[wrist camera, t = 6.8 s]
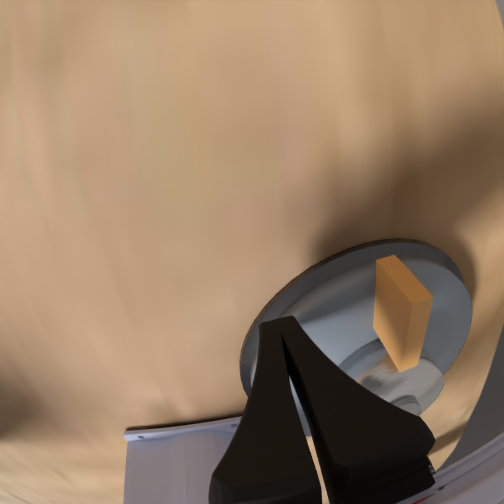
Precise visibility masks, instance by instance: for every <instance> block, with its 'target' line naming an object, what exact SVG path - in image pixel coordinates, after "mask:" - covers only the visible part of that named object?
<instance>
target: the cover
mask: <svg viewBox="0 0 504 504" xmlns="http://www.w3.org/2000/svg"><path fill="white" fill-rule="evenodd" d="M338 367H339V368H340V369H341V370H343V371H344V372H345V373H346V374H347V375H349V376H350V377H351V378H353V379H354V380H355V381H356V382H358V383H359V384H361V385H362V386H363V387H365V388H366V389H368V390H370V391H371V392H373V393H374V394H376V395H378V396H379V397H381V398H382V399H384V400H386V401H388V402H390V403H391V404H393V405H395V406H397V407H399V408H401V409H403V410H405V411H408V412H410V413H412V414H415V415H417V416H420V414H422V413H423V412H424V411H425V410H426V409H427V408H428V407H429V406H430V405H431V404H432V403H433V402H434V401H435V400H436V398H437V397H438V396H439V394H440V392H441V391H442V388H443V386H444V377H443V375H442V373H441V372H440V370H439V369H438V367H437V366H436V364H435V363H434V361H433V360H432V358H431V357H430V355H429V354H428V352H427V351H426V349H425V348H424V346H422V350H421V354H420V358H419V361H418V365H417V366H415V367H412V368H410V369H408V370H405V371H403V372H399V371H398V369H397V367H396V365H395V364H394V362H393V360H392V359H391V357H390V355H389V353H388V352H387V350H386V348H385V347H384V345H383V343H382V342H381V340H380V338H378V339H376V340H373V341H371V342H369V343H367V344H365V345H364V346H362V347H360V348H359V349H357V350H356V351H354V352H353V353H352V354H350V355H349V356H348V357H347V358H345V359H344V360H343V361H342V362H341V363H340V364H339V365H338Z"/></svg>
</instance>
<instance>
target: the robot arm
mask: <svg viewBox="0 0 504 504" xmlns="http://www.w3.org/2000/svg"><path fill="white" fill-rule="evenodd" d="M258 327H259V349H258V357H257V364H256V370H255V374H254V379H253V383H252V387H251V391H250V395H249V398H248V401H247V404H246V407H245V410H244V413H243V415H242V416H239V417H234V418H229V419H223V420H217V421H211V422H205V423H198V424H191V425H183V426H175V427H166V428H157V429H146V430H132V431H125V432H124V433H123V437H124V439H126V440H127V441H128V443H127V455H126V467H125V482H124V502H123V504H322V491H321V485H320V481H319V478H318V474H317V471H316V468H315V465H314V462H313V459H312V456H311V452H310V449H309V446H308V443H307V440H306V437H305V433H304V430H303V427H302V424H301V420H300V417H299V414H298V411H297V407H296V404H295V401H294V397H293V394H292V389H291V383H290V379H291V382H292V384H293V387H294V389H295V392H296V394H297V397H298V399H299V402H300V404H301V407H302V410H303V412H304V415H305V417H306V420H307V423H308V425H309V428H310V432H311V435H312V439H313V443H314V446H315V450H316V454H317V457H318V461H319V465H320V468H321V472H322V476H323V480H324V483H325V487H326V491H327V495H328V499H329V503H330V504H412V503H414V502H417V501H419V500H421V499H423V498H425V497H427V496H429V495H431V494H433V493H435V492H437V491H439V492H437V493H435V494H434V495H432V496H430V497H428V498H427V499H425V500H423V501H421V502H419V503H417V504H496V503H498V502H499V501H500V500H502V499H503V498H504V432H503V433H502V434H501V435H499V436H498V437H497V438H495V439H493V440H492V441H490V442H489V443H487V444H486V445H484V446H483V447H481V448H479V449H478V450H476V451H475V452H473V453H471V454H470V455H468V456H466V457H465V458H463V459H462V460H460V461H458V462H456V463H454V464H452V465H450V466H449V467H447V468H445V469H443V470H441V471H439V472H437V473H435V474H433V475H432V473H431V471H430V469H429V467H428V466H429V465H430V462H429V459H428V457H427V454H428V453H429V451H430V450H431V448H432V447H433V445H434V442H435V438H434V436H433V434H432V432H431V430H430V429H429V428H428V426H427V425H426V423H425V422H424V421H423V420H422V419H421V418H420V417H419V416H417V415H415V414H412V413H410V412H408V411H405V410H403V409H401V408H399V407H397V406H395V405H393V404H391V403H390V402H388V401H386V400H384V399H382V398H381V397H379V396H378V395H376V394H374V393H373V392H371V391H370V390H368V389H366V388H365V387H363V386H362V385H361V384H359V383H358V382H356V381H355V380H354V379H353V378H351V377H350V376H349V375H347V374H346V373H345V372H344V371H343V370H341V369H340V368H339V367H338V366H337V365H336V364H335V363H334V362H333V361H332V360H330V359H329V358H328V357H327V356H326V355H325V354H324V353H323V352H322V351H321V349H320V348H319V347H318V346H317V345H316V344H315V343H314V342H313V341H312V340H311V338H310V337H309V336H308V335H307V333H306V332H305V331H304V330H303V328H302V327H301V326H300V324H299V323H298V321H297V320H296V318H295V316H293V315H290V316H286V317H282V318H278V319H274V320H270V321H266V322H262V323H260V324H259V325H258ZM289 376H290V377H289Z"/></svg>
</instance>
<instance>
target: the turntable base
mask: <svg viewBox="0 0 504 504" xmlns="http://www.w3.org/2000/svg"><path fill="white" fill-rule="evenodd" d="M392 255H395V256H420V257H424V258H428V259H432V260H434V261H436V262H438V263H441V264H442V265H443V266H445V267H446V268H447V269H449V270H450V271H451V272H452V273H453V274H454V275H455V276H456V277H457V278H458V279H459V280H460V281H461V282H462V283H463V279H462V276H461V274H460V272H459V270H458V268H457V266H456V265H455V264H454V263H453V261H452V260H451V259H450V258H449V257H448V256H446V255H445V254H444V253H443V252H442V251H440V250H439V249H438V248H436V247H434V246H432V245H430V244H428V243H424V242H420V241H417V240H410V239H385V240H379V241H374V242H369V243H364V244H361V245H358V246H355V247H352V248H349V249H346V250H344V251H342V252H339V253H337V254H335V255H333V256H330V257H328V258H326V259H325V260H323V261H321V262H319V263H318V264H316V265H314V266H312V267H311V268H309V269H307V270H306V271H305V272H303V273H302V274H300V275H299V276H298V277H296V278H295V279H293V280H292V281H291V282H290V283H288V284H287V285H286V286H285V287H284V288H283V289H282V290H280V291H279V292H278V293H277V294H276V295H275V296H274V297H273V298H272V299H271V300H270V302H269V303H268V304H267V305H266V306H265V307H264V308H263V309H262V311H261V312H260V314H259V315H258V316H257V318H256V319H255V321H254V322H253V324H252V326H251V327H250V329H249V331H248V333H247V335H246V337H245V340H244V343H243V346H242V349H241V354H240V361H239V363H240V376H241V381H242V385H243V389H244V391H245V392H246V394H247V396H248V398H249V395H250V391H251V382H250V371H251V366H252V361H253V358H254V356H255V353H256V351H257V348H258V346H259V327H258V325H259V324H260V323H262V322H266V321H270V320H274V319H278V318H280V317H281V316H282V315H283V314H284V313H285V311H286V310H287V309H289V308H290V307H291V306H292V305H293V304H295V303H296V302H297V301H298V300H299V299H300V298H302V297H303V296H304V295H306V294H307V293H309V292H310V291H311V290H313V289H314V288H316V287H317V286H319V285H320V284H322V283H324V282H326V281H327V280H329V279H331V278H333V277H334V276H336V275H338V274H340V273H343V272H345V271H347V270H349V269H351V268H354V267H356V266H359V265H362V264H365V263H368V262H371V261H374V260H378V259H381V258H385V257H388V256H392ZM463 284H464V283H463Z"/></svg>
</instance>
